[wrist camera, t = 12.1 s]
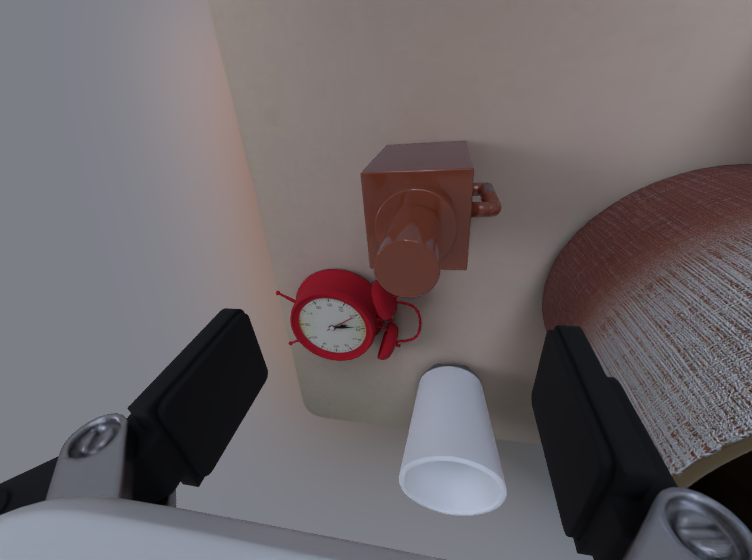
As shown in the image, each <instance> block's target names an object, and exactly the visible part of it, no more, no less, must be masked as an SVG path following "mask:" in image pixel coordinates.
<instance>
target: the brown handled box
mask: <svg viewBox="0 0 752 560" xmlns="http://www.w3.org/2000/svg"><path fill="white" fill-rule="evenodd" d="M473 177H474V168H473V164H472V161H471V157H470V154H469V151H468V147H467V144H466V141H449V142H431V143H413V144H395V145H386V146H385V147H384V148H383V149H382V151H381V152H380V153H379V154H378V155H377V156H376V157H375V158H374V159H373V160H372V161H371V162H370V163H369V165H368V166H367V167H366V168H365V169H364V170H363V171H362V172H361V183H362V193H363V203H364V213H365V223H366V233H367V242H368V252H369V262H370V268H374V273H375V276H376V279H377V281H378V282H379V284H380V285H381V286H382V287H383V288H384V289H385V290H387V291H388V292H390V293H391V294H394V295H396V296H399V297H406V298H412V297H417V296H421V295H423V294H425V293H427V292H428V291H430V290H431V289H432V288H433V287H434V286H435V284H436V283H437V281H438V279H439V275H440V270H467V263H468V248H469V234H470V220H471V217H493V216H496V215H498V214H499V213H500V211H501V204H500V202H499V199H498V197H497V195H496V192H495V190H494V188H493V186H492V184H490V183H473ZM472 196H480V197H481V201H482V202H472Z"/></svg>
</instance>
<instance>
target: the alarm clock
mask: <svg viewBox="0 0 752 560" xmlns="http://www.w3.org/2000/svg"><path fill="white" fill-rule="evenodd" d="M276 294H277V295H281V296H283V297H285V298H286V299H288V300H290V301H292V302H294V303H295V304H294V306H293V308H292V311H291V318H290V320H291V327H292V330H293V333H294V335H295V336H296V338H297V340H296V341H293V342H289V345H292V344H293V343H296V342H300V343H301V344H302V345H303V346H304V347H305V348H306V349H308V350H309V351H311V352H312V353H314V354H316V355H318V356H320V357H323V358H326V359H330V360H337V361H344V360H351V359H354V358H357V357H359V356H361V355H362V354H363V353H365V352H366V351H367V349H368V348H369V347H370V346H371V344H372V343H373V340H374V337H375V336H376V335H377V334H378V333H379V331H380V330H381V329H383V330H386V331H385V333H384V336H383V339H382V342H381V345H380V349H379V353H378V359H381V360H385V359H387V358H389V357H390V355H391V354H392V352H393V350H394V348H395V346H397V347H400V346H401V345H400V344H398V343H399V342H408V341H412V340H414V339H415V338H417V337H418V335H419V333H420V331H421V323H422V322H421V316H420V313H419V311H418V309H417V308H416V307H415V306H414V305H412V304H410V303H407V302H401V301H397V300H396V298H398V297H399V296H396V295H394V294H391V293H390V292H388V291H387V290H385V289H384V288H383V287H382V286H381V285H380V284H379V282H378V281H377V280H375V281H374V282H373V284H372V285H371V284H370V283H369V282H368V281H367V280H365V279H364V278H362V277H361V276H359V275H357V274H354V273H352V272H349V271H345V270H339V269H327V270H322V271H319V272H316V273H314V274H312V275H310V276H309V277H308V278H306V279H305V280H304V282H303V283H302V284H301V286H300V287H299V289H298V292H297V295H296V300H294V299H292V298H290V297H288V296H285V295H283V294H281V293H280V291H277V292H276ZM397 303H399V304H404V305H408V306H411V307H412V308H414V309H415V311H416V312H417V314H418V318H419V329H418V332H417V334H416V335H415V336H414V337H413V338H411V339H407V340H398V341H397V337H398V327H397V326H396V324H394V323H392V317H393V316H394V315H395V313H396V310H397ZM384 321H390V322H389V323H388V326H387V328H383V327H382V326H383V323H384Z"/></svg>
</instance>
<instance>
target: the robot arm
mask: <svg viewBox="0 0 752 560" xmlns="http://www.w3.org/2000/svg"><path fill="white" fill-rule="evenodd" d="M267 375H268V370H267V367H266V364H265V361H264V358H263V355H262V353H261V350H260V347H259V344H258V341H257V338H256V336H255V333H254V330H253V327H252V324H251V322H250V319H249V316H248V315H247V314H245V313H244V311H243V310H241V309H227V308H226V309H223V310H221V311H220V312H219V313H218V314H217V315H216V316H215V317H214V318H213V319H212V320H211V322H210V323H209V324H208V325H207V326H206V327H205V328H204V329H203V330H202V331H201V332H200V333H199V334H198V335H197V336H196V337H195V338H194V339H193V340H192V342H190V343H189V344H188V345H187V347H186V348H185V349H184V350H183V351H182V352H181V353H180V354H179V355H178V356H177V357H176V358H175V359H174V360H173V361H172V362H171V363H170V364H169V365H168V366H167V367H166V368H165V370H164V371H163V372H162V373H161V374H160V375H159V376H158V377H157V378H156V379H155V380H154V381H153V382H152V383H151V384H150V385H149V386H148V387H147V388H146V389H145V390H144V391H143V392H142V393H141V395H140V396H139V397H138V398H137V399H136V400H135V401H134V402H133V403H132V404H131V405H130V406H129V407H128V410H129V411H130V412H131V414H130V415H129V417H128V418H127V419H126V418H125V417H124V416H123V415H122V414H117V413H115V414H107V415H104V416H100V417H98V418H96V419H94V420H92V421H90V422H88V423H86V424H85V425H84V426H82V427H80V428H79V429H78V430H77V431H76V432H74V433H73V434H72V435H71V436H70V437H69V438H68V440H67V441H66V442H65V443H64V445H63V447H62V449H61V451H60V454H59V456H58V457H56V458H54V459H52V460H50V461H47V462H46V463H43V464H41V465H39V466H37V467H35V468H33V469H31V470H29V471H26V472H24V473H22V474H20V475H18V476H16V477H14V478H11V479H9V480H7V481H5V482H3V483H1V484H0V560H445V559H440V558H435V557H430V556H425V555H420V554H415V553H410V552H405V551H400V550H395V549H390V548H385V547H379V546H375V545H370V544H364V543H359V542H354V541H349V540H344V539H339V538H333V537H328V536H323V535H318V534H313V533H307V532H302V531H297V530H291V529H287V528H281V527H276V526H271V525H266V524H260V523H255V522H250V521H245V520H239V519H233V518H229V517H223V516H218V515H212V514H207V513H202V512H196V511H191V510H186V509H180V508H176V488H177V486H178V484H179V483H180V481H181V482H182V484H185V485H191V486H196V487H199V486H200V484H201V482H202V481H203V479H204V477H205V476H207V475H209V474H210V473H211V472H212V470H213V469H214V467H215V466H216V464H217V462H218V461H219V459H220V457H221V456H222V454H223V452H224V450H225V449H226V447H227V445H228V444H229V442H230V440H231V439H232V437H233V435H234V434H235V432H236V430H237V428H238V427H239V425H240V423H241V422H242V420H243V418H244V417H245V415H246V413H247V412H248V410H249V408H250V407H251V405H252V403H253V402H254V400H255V398H256V396H257V395H258V393H259V391H260V390H261V388H262V386H263V385H264V383H265V381H266V379H267ZM532 407H533V411H534V415H535V419H536V423H537V426H538V430H539V434H540V438H541V442H542V446H543V450H544V454H545V458H546V462H547V466H548V470H549V474H550V477H551V482H552V486H553V490H554V493H555V498H556V501H557V506H558V510H559V513H560V518H561V522H562V525H563V529H564V531H565V534H566V535H567V536H568V537H573V539H574V542H575V546H576V550H577V553H579V554H585V555H591V556H593V558H594V560H752V533H751V532H750V531H749V529H748V528H747V527H746V525H745V524H743V523H742V522H741V521H740V520H739V519H738V518H737V517H736V516H735V515H734V514H733V513H732V512H731V511H729V510H728V509H727V508H725V507H724V506H723V505H721V504H720V503H718V502H717V501H715V500H713V499H712V498H710V497H708V496H706V495H704V494H702V493H700V492H697V491H693V490H690V489H687V488H678V486H677V484H676V482H675V481H674V479H673V477H672V475H671V473H670V472H669V470H668V468H667V466H666V464H665V463H664V461H663V459H662V457H661V455H660V454H659V452H658V450H657V448H656V446H655V445H654V443H653V441H652V439H651V437H650V436H649V434H648V432H647V430H646V428H645V427H644V425H643V423H642V421H641V419H640V418H639V416H638V414H637V412H636V410H635V409H634V407H633V405H632V403H631V401H630V400H629V398H628V396H627V394H626V392H625V391H624V389H623V387H622V385H621V384H620V383H619V381H618V380H617V379H616V378H614V377H607V376H606V374H605V372H604V370H603V368H602V366H601V364H600V362H599V360H598V358H597V356H596V355H595V353H594V351H593V349H592V347H591V345H590V343H589V341H588V339H587V337H586V335H585V334H584V332H583V330H582V328H581V327H579V326H566V325H556V326H555V328H554V330H548V331H547V334H546V338H545V342H544V346H543V350H542V354H541V358H540V363H539V367H538V371H537V375H536V379H535V383H534V387H533V391H532Z"/></svg>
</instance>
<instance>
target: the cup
mask: <svg viewBox="0 0 752 560" xmlns="http://www.w3.org/2000/svg"><path fill="white" fill-rule="evenodd" d="M399 483H400V486H401V488H402V490H403V491H404V493H405V494H406V495H407V496H408V497H410V498H411V499H412V500H413V501H415V502H416V503H418V504H420V505H422V506H424V507H426V508H428V509H431V510H434V511H437V512H440V513H444V514H448V515H459V516H467V515H478V514H483V513H487V512H490V511H492V510H495V509H497V508H498V507H499V506H500V505H501V504H502V503H503V502H504V500H505V498H506V496H507V490H506V484H505V480H504V476H503V472H502V467H501V463H500V459H499V455H498V451H497V447H496V442H495V438H494V434H493V430H492V426H491V421H490V417H489V413H488V409H487V405H486V400H485V396H484V392H483V388H482V385H481V382H480V380H479V379H478V378H477V377H476V376H475V375H474V374H473V373H472V372H471V371H470V370H469V369H468V368H467V367H465V366H459V367H453V366H443V365H439V364H437V365H434V366H433V367H432V368H431V369H430V370H428V371H427V372H426V373H425V374H424V375H423V376H422V378H421V379H420V382H419V387H418V391H417V396H416V400H415V405H414V410H413V414H412V419H411V423H410V428H409V433H408V437H407V442H406V446H405V451H404V456H403V460H402V465H401V470H400V474H399Z"/></svg>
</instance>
